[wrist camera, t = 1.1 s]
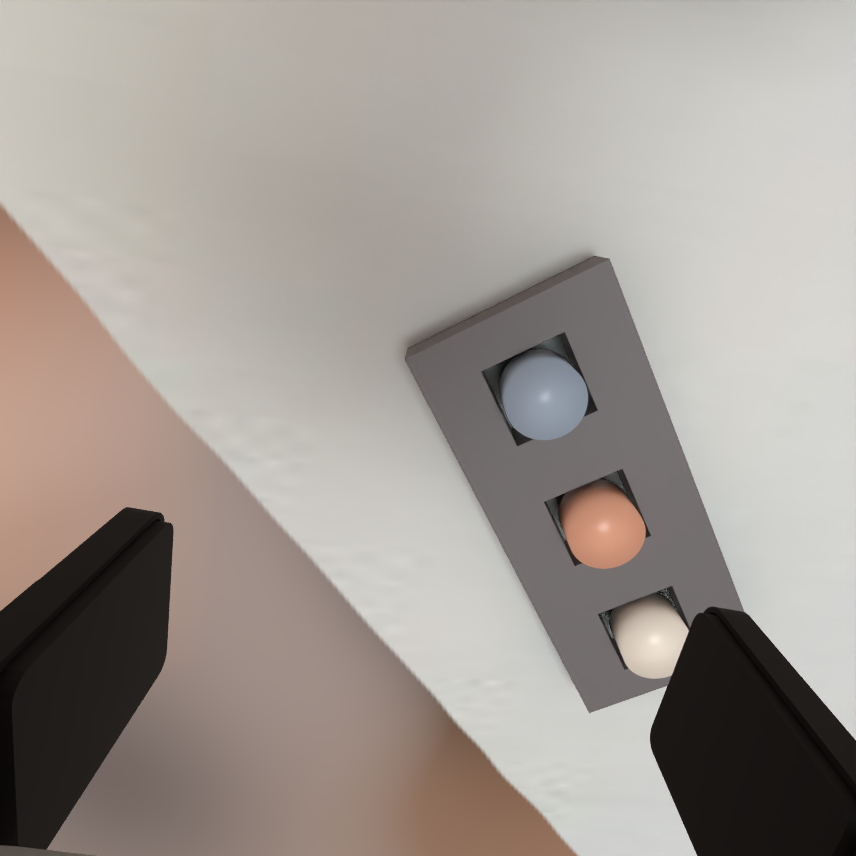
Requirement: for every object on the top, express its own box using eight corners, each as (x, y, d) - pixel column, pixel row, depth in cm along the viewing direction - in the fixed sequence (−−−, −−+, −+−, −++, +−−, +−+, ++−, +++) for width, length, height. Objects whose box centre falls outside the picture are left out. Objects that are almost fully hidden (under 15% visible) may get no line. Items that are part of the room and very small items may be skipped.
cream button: (663, 581, 37) (681, 611, 34) (684, 631, 38) (704, 664, 36) (599, 606, 38) (612, 636, 35) (622, 654, 39) (636, 687, 36)
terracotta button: (614, 467, 35) (630, 489, 32) (639, 525, 36) (656, 551, 33) (547, 496, 35) (556, 520, 32) (573, 552, 37) (585, 579, 34)
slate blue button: (558, 335, 32) (569, 346, 29) (586, 403, 33) (600, 419, 30) (486, 369, 33) (491, 383, 30) (517, 434, 34) (524, 453, 31)
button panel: (594, 256, 32) (609, 258, 30) (737, 623, 40) (760, 653, 38) (407, 348, 34) (404, 359, 32) (579, 680, 42) (589, 713, 40)
